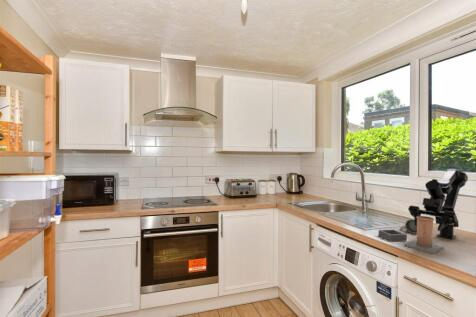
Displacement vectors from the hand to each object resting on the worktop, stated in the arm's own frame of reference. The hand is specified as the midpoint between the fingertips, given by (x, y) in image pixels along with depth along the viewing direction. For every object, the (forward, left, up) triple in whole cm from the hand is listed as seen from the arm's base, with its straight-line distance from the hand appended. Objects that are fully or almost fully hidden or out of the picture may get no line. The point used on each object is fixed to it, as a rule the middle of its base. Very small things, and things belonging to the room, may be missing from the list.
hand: (426, 228), depth 124 cm
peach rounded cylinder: (+2, 0, -8) cm, 8 cm away
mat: (+2, 0, -9) cm, 9 cm away
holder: (0, -15, -9) cm, 17 cm away
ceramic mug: (-22, -15, -9) cm, 28 cm away
